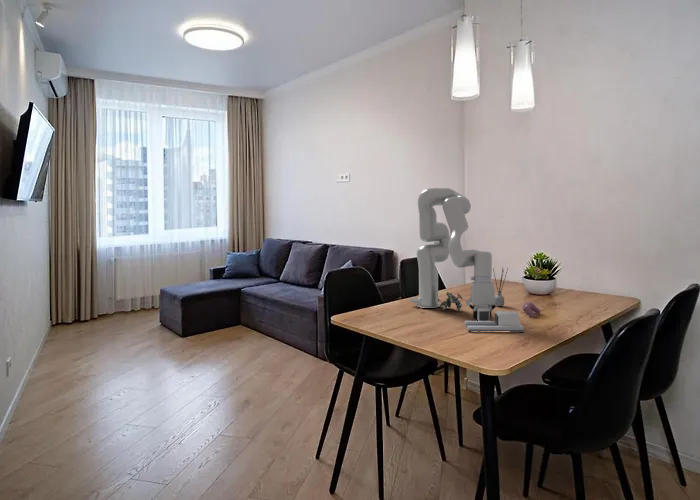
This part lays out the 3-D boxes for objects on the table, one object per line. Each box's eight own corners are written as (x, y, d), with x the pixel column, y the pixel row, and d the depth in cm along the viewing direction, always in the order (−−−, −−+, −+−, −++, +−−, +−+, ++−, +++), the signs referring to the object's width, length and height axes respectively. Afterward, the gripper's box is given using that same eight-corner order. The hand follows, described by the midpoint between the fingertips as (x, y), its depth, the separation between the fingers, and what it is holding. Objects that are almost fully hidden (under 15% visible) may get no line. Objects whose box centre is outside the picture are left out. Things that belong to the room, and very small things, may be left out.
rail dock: (468, 332, 183) (468, 315, 182) (464, 325, 193) (464, 309, 192) (523, 332, 181) (524, 315, 180) (517, 325, 191) (517, 309, 190)
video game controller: (532, 315, 212) (525, 301, 213) (541, 312, 209) (534, 298, 211) (525, 320, 204) (519, 306, 206) (535, 317, 202) (528, 302, 203)
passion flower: (458, 322, 218) (467, 305, 210) (437, 319, 216) (445, 302, 209) (454, 304, 226) (463, 288, 219) (434, 301, 225) (442, 285, 217)
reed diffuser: (504, 304, 229) (505, 265, 226) (512, 307, 222) (512, 267, 220) (486, 305, 226) (486, 266, 224) (493, 309, 220) (494, 268, 217)
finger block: (474, 317, 205) (475, 304, 204) (486, 317, 204) (486, 304, 204) (478, 322, 197) (478, 309, 196) (489, 322, 196) (490, 309, 195)
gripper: (464, 281, 196) (464, 321, 198) (504, 280, 194) (503, 321, 196) (461, 278, 203) (461, 317, 205) (500, 277, 201) (499, 317, 203)
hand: (482, 318), depth 201 cm, fingers closed on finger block, 5 cm apart
